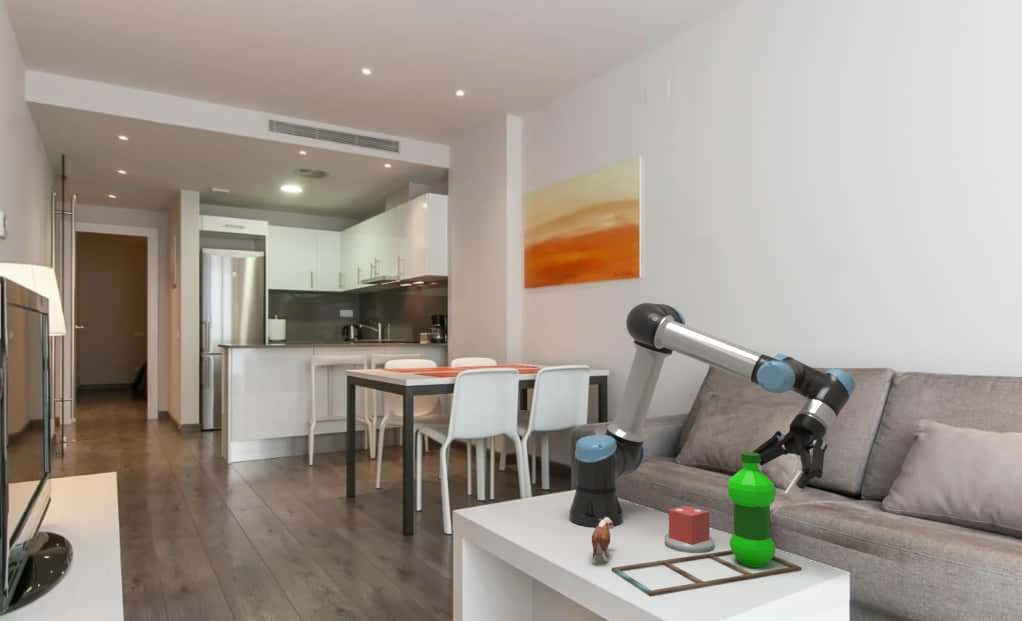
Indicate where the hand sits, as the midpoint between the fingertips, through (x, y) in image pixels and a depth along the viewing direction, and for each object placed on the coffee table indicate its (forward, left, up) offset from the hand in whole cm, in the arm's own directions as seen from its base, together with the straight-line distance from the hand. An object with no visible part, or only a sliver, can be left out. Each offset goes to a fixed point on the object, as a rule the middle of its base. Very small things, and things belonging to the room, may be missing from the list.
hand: (765, 490), depth 144 cm
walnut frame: (-1, -16, -16) cm, 23 cm away
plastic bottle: (-1, -3, -17) cm, 17 cm away
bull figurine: (-17, -34, -17) cm, 41 cm away
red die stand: (-17, -9, -16) cm, 25 cm away
